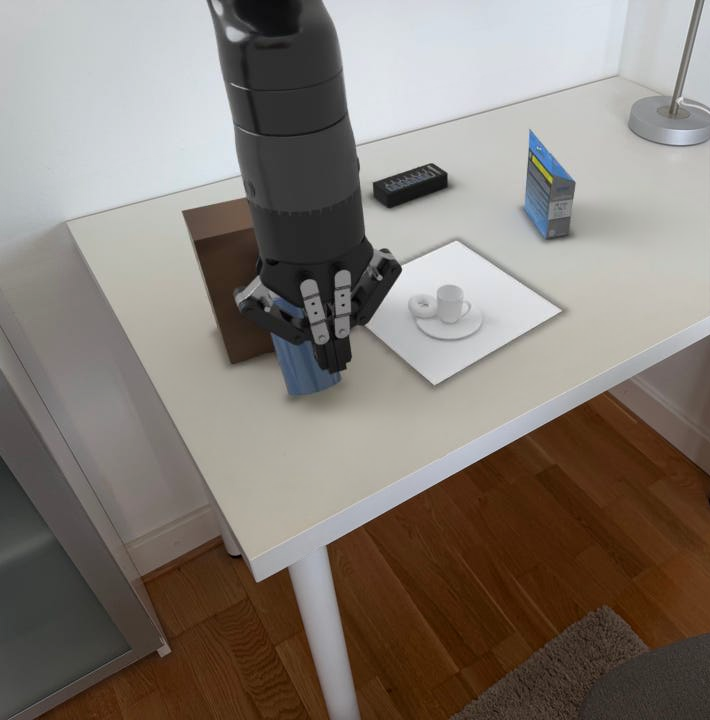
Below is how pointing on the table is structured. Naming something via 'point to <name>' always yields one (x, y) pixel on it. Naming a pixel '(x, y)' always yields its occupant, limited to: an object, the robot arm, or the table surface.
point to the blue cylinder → (300, 360)
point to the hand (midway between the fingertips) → (334, 366)
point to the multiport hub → (410, 185)
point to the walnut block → (228, 272)
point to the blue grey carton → (548, 191)
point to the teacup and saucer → (454, 311)
